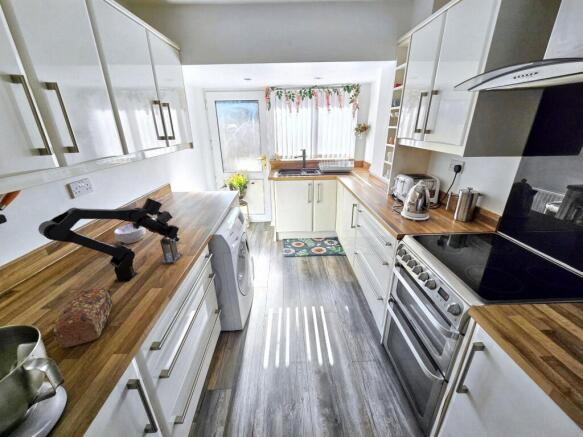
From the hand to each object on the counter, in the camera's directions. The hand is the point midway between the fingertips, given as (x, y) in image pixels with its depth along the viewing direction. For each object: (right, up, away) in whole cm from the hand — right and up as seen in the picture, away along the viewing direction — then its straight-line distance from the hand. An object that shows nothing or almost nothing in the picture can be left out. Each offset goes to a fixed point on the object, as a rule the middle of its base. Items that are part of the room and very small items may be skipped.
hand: (176, 235), depth 124 cm
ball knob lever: (0, -4, -4) cm, 5 cm away
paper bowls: (-35, -4, +18) cm, 40 cm away
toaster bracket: (0, -12, -4) cm, 13 cm away
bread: (-9, -28, -43) cm, 52 cm away
